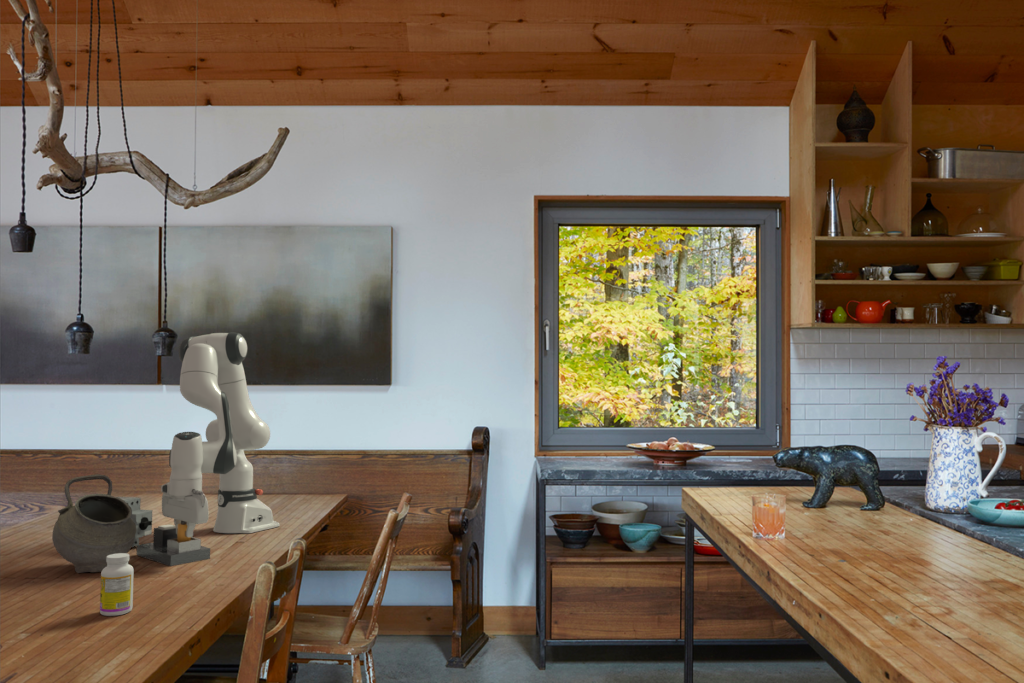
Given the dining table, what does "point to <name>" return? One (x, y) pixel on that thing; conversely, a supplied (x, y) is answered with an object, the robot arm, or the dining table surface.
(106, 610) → the supplement bottle
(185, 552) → the grey socket board
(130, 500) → the circuit breaker
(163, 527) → the button
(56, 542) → the pot
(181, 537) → the orange rounded cylinder
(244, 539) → the dining table surface
